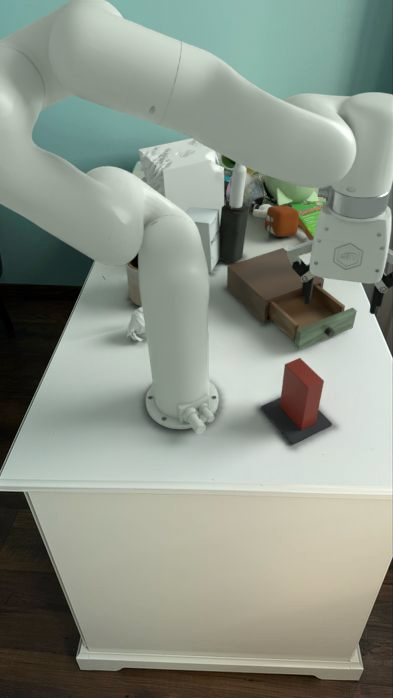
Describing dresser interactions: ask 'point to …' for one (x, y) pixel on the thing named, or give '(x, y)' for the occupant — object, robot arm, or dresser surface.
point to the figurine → (137, 324)
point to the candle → (234, 219)
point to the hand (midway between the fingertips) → (339, 303)
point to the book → (301, 393)
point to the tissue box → (185, 174)
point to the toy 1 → (286, 191)
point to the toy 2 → (278, 219)
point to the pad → (289, 426)
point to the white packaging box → (207, 232)
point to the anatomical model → (250, 191)
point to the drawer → (310, 316)
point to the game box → (308, 216)
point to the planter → (133, 280)
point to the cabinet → (264, 281)
